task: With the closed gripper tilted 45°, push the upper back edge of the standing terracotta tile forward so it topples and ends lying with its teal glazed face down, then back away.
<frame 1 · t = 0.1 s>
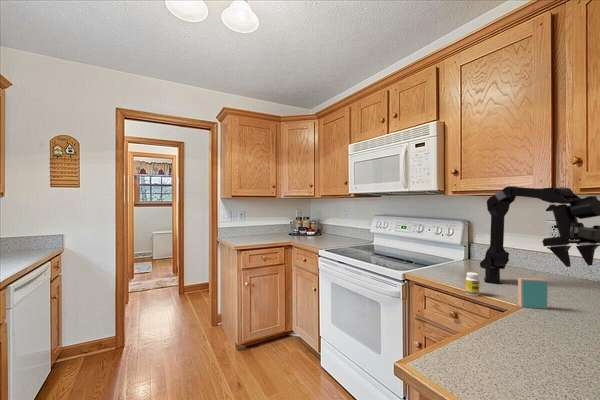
hand: (579, 266, 95), 15 cm above the table, tool pointing down, fingers open, 9 cm apart
supplement bottle: (472, 294, 112), on the table
tile: (532, 307, 99), on the table
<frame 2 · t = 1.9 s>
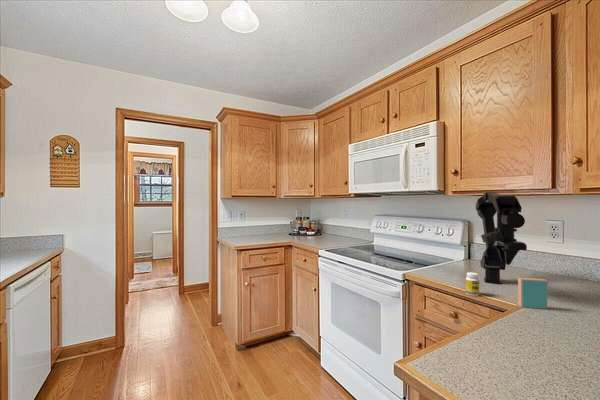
hand: (505, 263, 113), 12 cm above the table, tool pointing down, fingers open, 3 cm apart
nothing on the table moved.
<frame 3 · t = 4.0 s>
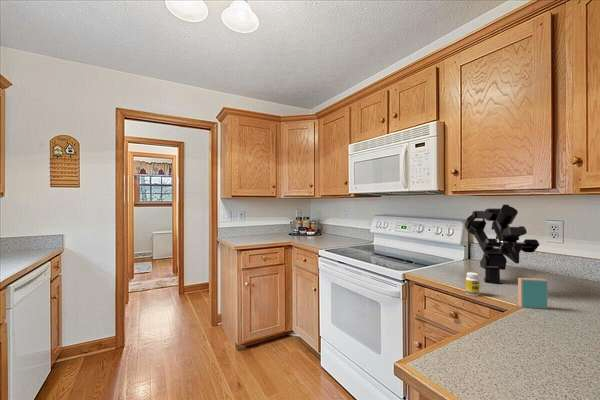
hand: (517, 263, 108), 14 cm above the table, tool tilted 45°, fingers closed
nothing on the table moved.
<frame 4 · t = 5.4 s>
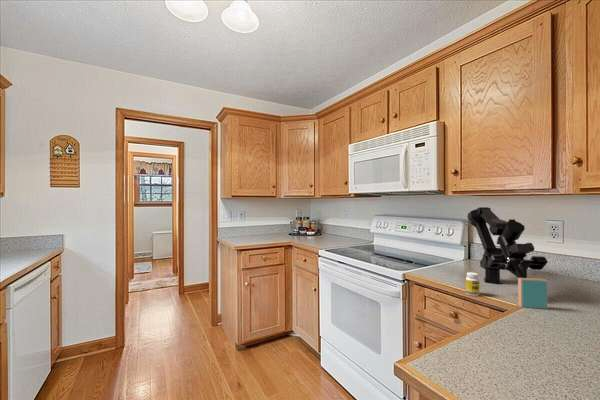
hand: (525, 281, 103), 8 cm above the table, tool tilted 45°, fingers closed
nothing on the table moved.
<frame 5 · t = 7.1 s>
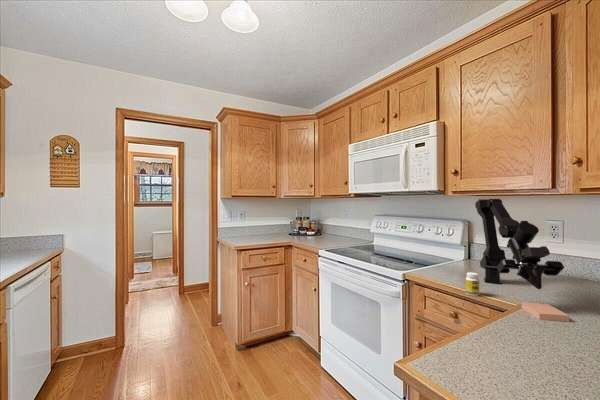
hand: (539, 288, 95), 8 cm above the table, tool tilted 45°, fingers closed
tile: (534, 305, 97), point 1 cm above the table, tilted 90°
everything else where it was.
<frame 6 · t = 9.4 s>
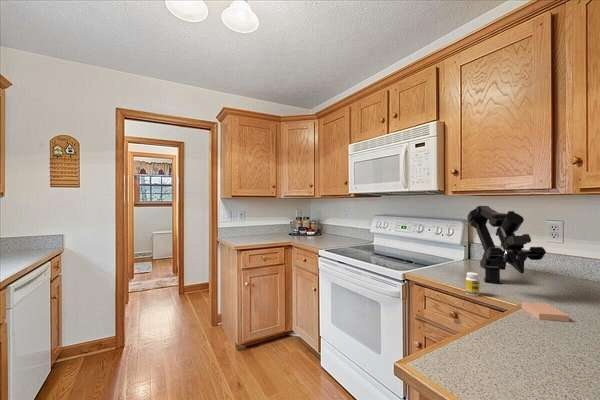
hand: (522, 272, 104), 11 cm above the table, tool tilted 40°, fingers closed
nothing on the table moved.
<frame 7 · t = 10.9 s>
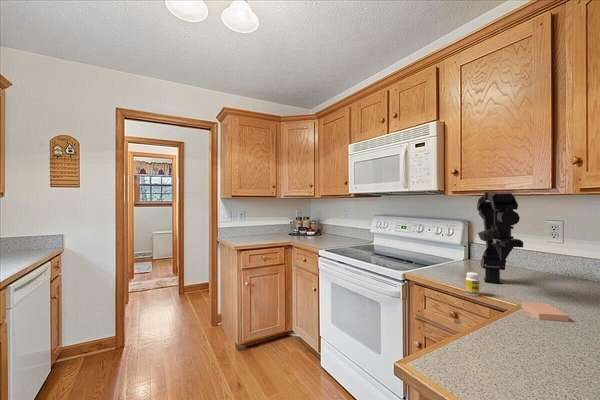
hand: (502, 261, 114), 13 cm above the table, tool pointing down, fingers closed
nothing on the table moved.
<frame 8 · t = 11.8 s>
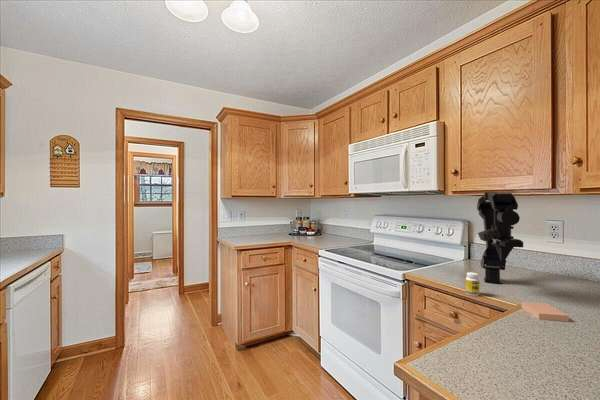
hand: (502, 261, 114), 13 cm above the table, tool pointing down, fingers closed
nothing on the table moved.
at the end: tile tilted 90°; tile inside the target area (2.6 cm from its centre), point 0.8 cm above the table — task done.
